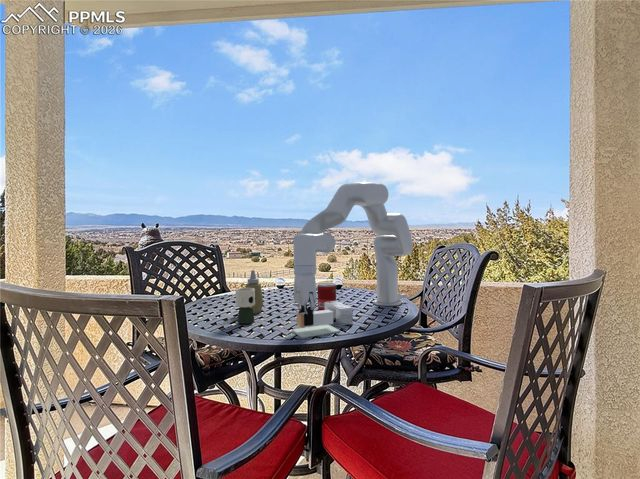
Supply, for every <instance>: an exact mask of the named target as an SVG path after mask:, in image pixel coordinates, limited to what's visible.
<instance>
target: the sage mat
mask: <svg viewBox="0 0 640 479" xmlns="http://www.w3.org/2000/svg"><path fill="white" fill-rule="evenodd" d="M291 330H292V332H293V333H294V334H296V335H297V336H298V337H299V338H301V339H305V338H311V337H316V336H317V335H318V336H324V334H325V335H331V333H332V334H337V333H341V330H340V329H338V328H336V327H334V326H332V325H331V324H325V325H318V326H310V327H302V328H301V327H299V328H294V329H291ZM310 336H311V337H310ZM318 336H317V337H318Z"/></svg>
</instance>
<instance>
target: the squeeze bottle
mask: <svg viewBox="0 0 640 479" xmlns="http://www.w3.org/2000/svg"><path fill="white" fill-rule="evenodd" d="M249 277H250V278H248V279H247V284H246V285H245V287H244V288H254V289H255V305H254V306H252V309H253V314H254V315H256V314H259V313H262V310H263V307H264V298H263V291H262V290H263V289H262V285H261V283H260V281H259V280H260V279H259V278H257V275H256V273H255V270H253V269H252V270H251V272H250V276H249Z"/></svg>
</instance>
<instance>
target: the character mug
mask: <svg viewBox="0 0 640 479" xmlns="http://www.w3.org/2000/svg"><path fill="white" fill-rule="evenodd" d="M254 305H255V289H254V288H245V287H241V288H236V289H235V307H238V312H237V314H238V315H237V323H238V324H243V325H246V324H253V323H254V321H255V314H253V309H252V306H254Z"/></svg>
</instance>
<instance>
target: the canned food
mask: <svg viewBox="0 0 640 479" xmlns="http://www.w3.org/2000/svg"><path fill="white" fill-rule="evenodd" d="M316 287H317V309H318V311H321V310H325V305H324V302H330V301H337V283H334V282H320V283H317V284H316Z"/></svg>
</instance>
